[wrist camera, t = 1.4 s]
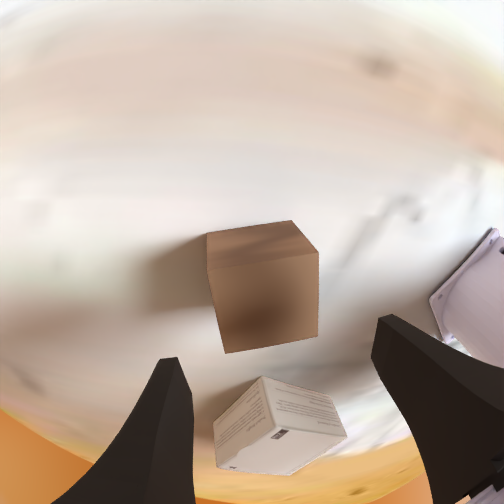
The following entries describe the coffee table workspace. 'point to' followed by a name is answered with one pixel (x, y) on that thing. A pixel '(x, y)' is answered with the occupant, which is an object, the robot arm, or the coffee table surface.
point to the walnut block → (263, 285)
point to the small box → (276, 429)
